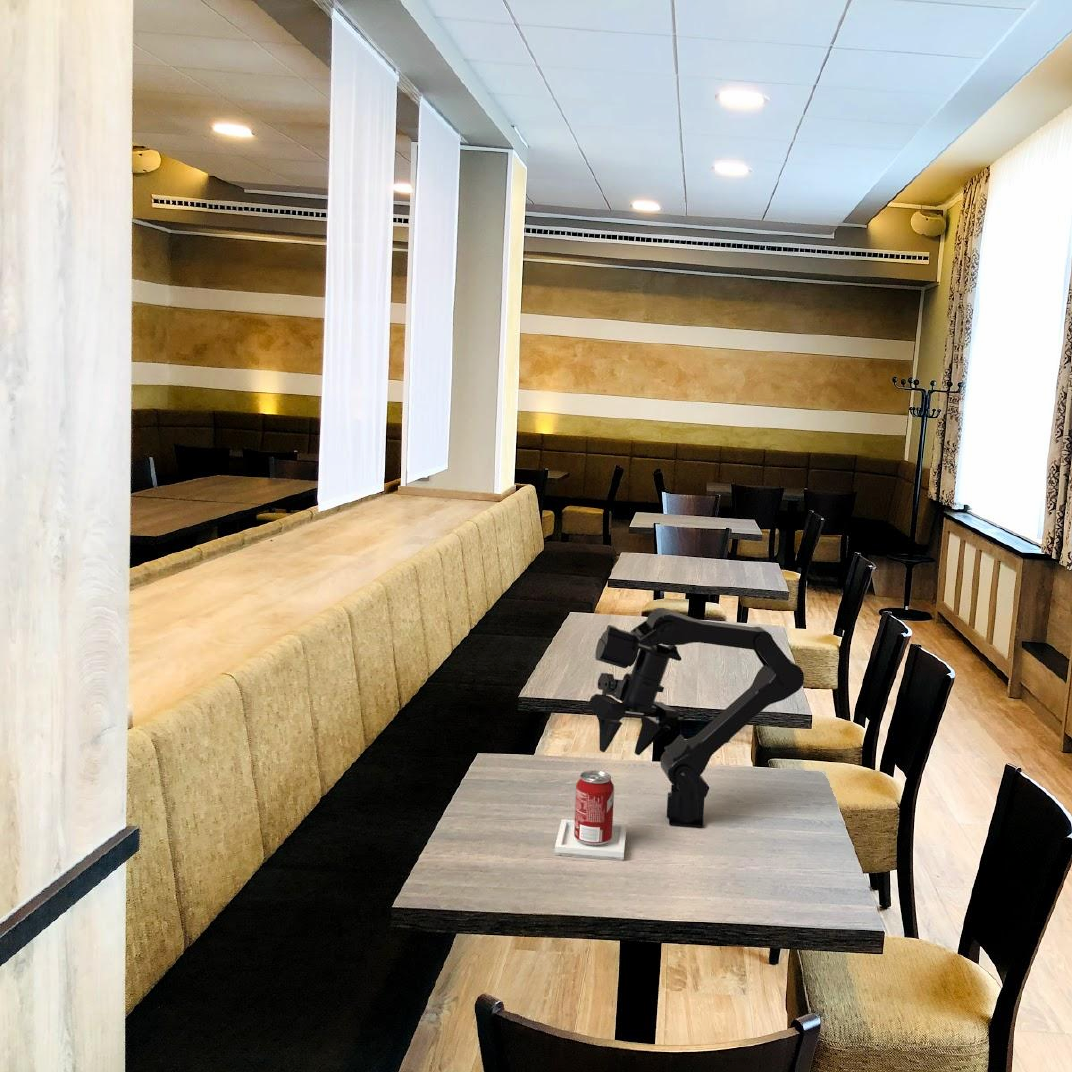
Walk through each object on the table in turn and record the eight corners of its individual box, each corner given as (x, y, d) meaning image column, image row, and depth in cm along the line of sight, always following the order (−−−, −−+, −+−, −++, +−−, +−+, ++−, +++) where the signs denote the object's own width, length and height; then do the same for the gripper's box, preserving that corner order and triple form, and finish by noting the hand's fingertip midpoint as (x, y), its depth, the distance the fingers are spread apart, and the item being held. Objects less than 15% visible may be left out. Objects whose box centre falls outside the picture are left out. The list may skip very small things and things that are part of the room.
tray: (626, 832, 203) (626, 824, 203) (623, 861, 191) (623, 852, 191) (561, 827, 205) (561, 819, 204) (554, 855, 193) (554, 846, 192)
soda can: (601, 851, 194) (604, 786, 192) (567, 842, 197) (569, 777, 195) (618, 837, 199) (621, 774, 197) (584, 829, 203) (587, 766, 201)
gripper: (653, 664, 216) (627, 738, 218) (583, 653, 204) (556, 731, 206) (691, 686, 208) (664, 762, 209) (622, 676, 196) (593, 757, 198)
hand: (619, 752), depth 206 cm, fingers open, 9 cm apart
